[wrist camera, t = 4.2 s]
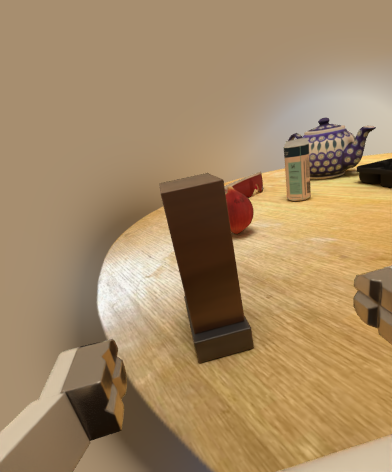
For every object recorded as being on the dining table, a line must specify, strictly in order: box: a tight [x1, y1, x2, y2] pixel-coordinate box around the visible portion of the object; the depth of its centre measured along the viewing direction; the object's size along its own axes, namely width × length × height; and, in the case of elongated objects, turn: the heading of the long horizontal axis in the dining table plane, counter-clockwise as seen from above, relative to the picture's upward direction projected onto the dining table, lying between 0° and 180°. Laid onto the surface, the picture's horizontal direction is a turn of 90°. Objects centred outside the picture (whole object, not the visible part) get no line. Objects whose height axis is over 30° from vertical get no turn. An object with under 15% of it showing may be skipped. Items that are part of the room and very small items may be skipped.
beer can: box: [284, 138, 311, 201], centre depth 52 cm, size 5×5×12 cm
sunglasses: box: [224, 172, 263, 197], centre depth 70 cm, size 17×17×5 cm
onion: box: [226, 186, 253, 234], centre depth 41 cm, size 6×6×8 cm
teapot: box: [288, 118, 376, 179], centre depth 68 cm, size 25×15×15 cm, turn 27°
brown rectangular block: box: [159, 173, 254, 363], centre depth 20 cm, size 6×4×13 cm
